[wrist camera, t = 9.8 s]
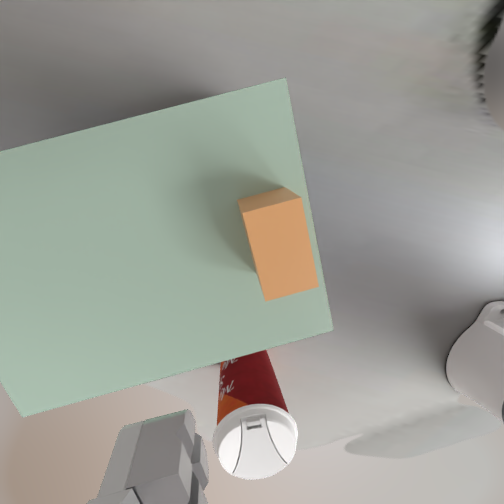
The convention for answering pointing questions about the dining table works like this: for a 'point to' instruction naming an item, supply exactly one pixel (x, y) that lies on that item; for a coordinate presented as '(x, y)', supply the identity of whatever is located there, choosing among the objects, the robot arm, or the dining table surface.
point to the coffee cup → (252, 419)
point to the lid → (155, 248)
